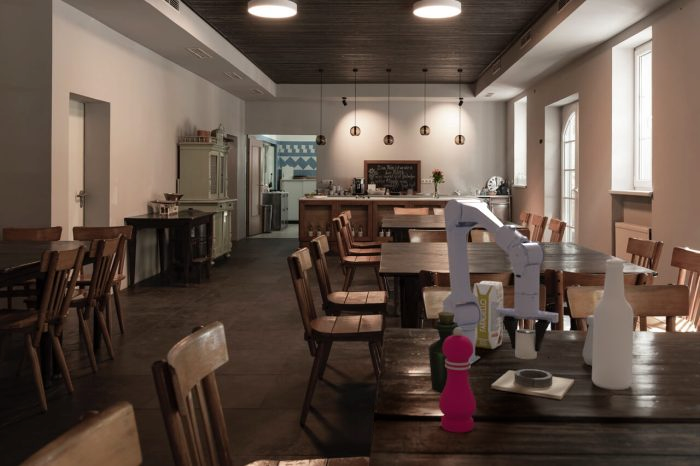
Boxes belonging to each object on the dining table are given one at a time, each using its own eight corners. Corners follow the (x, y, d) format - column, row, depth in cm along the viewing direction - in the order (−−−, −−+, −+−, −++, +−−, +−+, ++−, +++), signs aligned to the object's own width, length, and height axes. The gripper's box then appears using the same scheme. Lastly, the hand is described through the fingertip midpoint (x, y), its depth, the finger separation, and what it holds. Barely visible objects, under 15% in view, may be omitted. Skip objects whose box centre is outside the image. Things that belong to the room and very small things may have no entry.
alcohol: (629, 381, 156) (633, 258, 154) (633, 392, 148) (636, 263, 146) (591, 377, 159) (594, 257, 157) (592, 388, 151) (595, 261, 149)
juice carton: (504, 344, 193) (505, 281, 192) (494, 350, 186) (495, 285, 185) (480, 341, 198) (481, 279, 196) (470, 347, 190) (470, 283, 189)
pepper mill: (435, 421, 130) (435, 323, 129) (470, 419, 131) (471, 323, 130) (443, 434, 123) (444, 331, 122) (480, 433, 124) (481, 331, 122)
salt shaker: (607, 367, 168) (608, 318, 167) (584, 366, 170) (585, 317, 169) (603, 361, 174) (604, 314, 173) (580, 360, 175) (581, 313, 174)
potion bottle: (470, 391, 149) (471, 315, 148) (441, 396, 145) (441, 318, 144) (449, 382, 156) (450, 309, 155) (421, 387, 153) (421, 312, 151)
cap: (512, 357, 153) (512, 332, 153) (518, 352, 157) (518, 328, 157) (533, 360, 150) (533, 334, 150) (539, 355, 155) (539, 330, 154)
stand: (491, 388, 151) (491, 376, 151) (508, 373, 163) (509, 362, 163) (560, 399, 143) (561, 387, 143) (574, 383, 155) (574, 371, 155)
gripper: (491, 292, 153) (491, 349, 154) (553, 297, 146) (552, 356, 147) (500, 288, 159) (500, 342, 160) (561, 293, 152) (560, 350, 153)
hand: (526, 349), depth 154 cm, fingers closed on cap, 5 cm apart
